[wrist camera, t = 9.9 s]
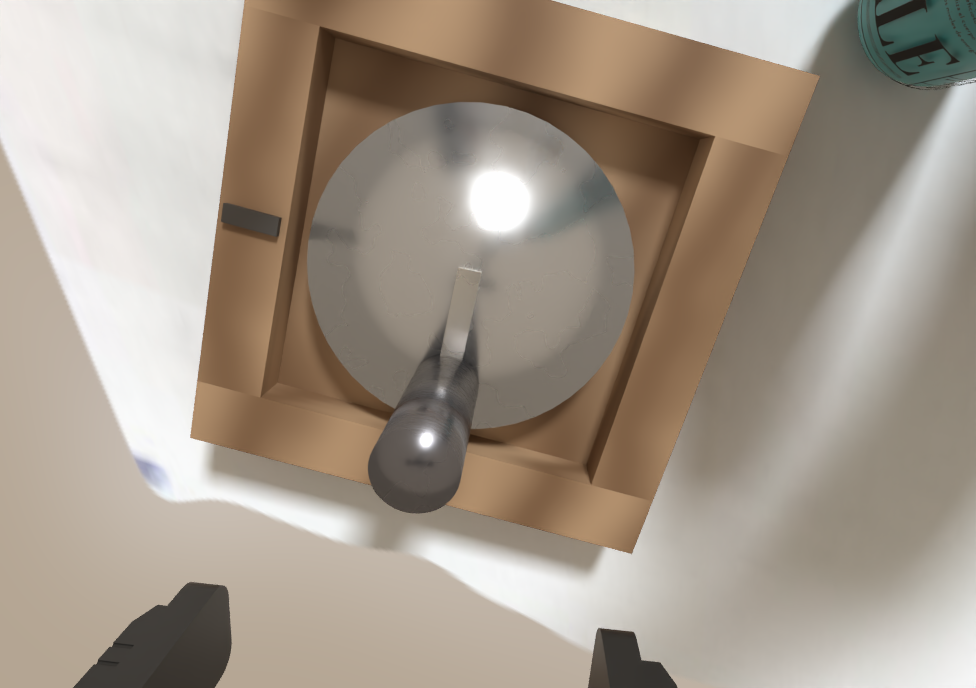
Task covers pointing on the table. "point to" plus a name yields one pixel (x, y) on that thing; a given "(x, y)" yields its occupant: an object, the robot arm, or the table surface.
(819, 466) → the table surface
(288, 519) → the table surface
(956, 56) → the beverage bottle
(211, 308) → the brown flat square frame
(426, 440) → the dial
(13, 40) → the table surface
